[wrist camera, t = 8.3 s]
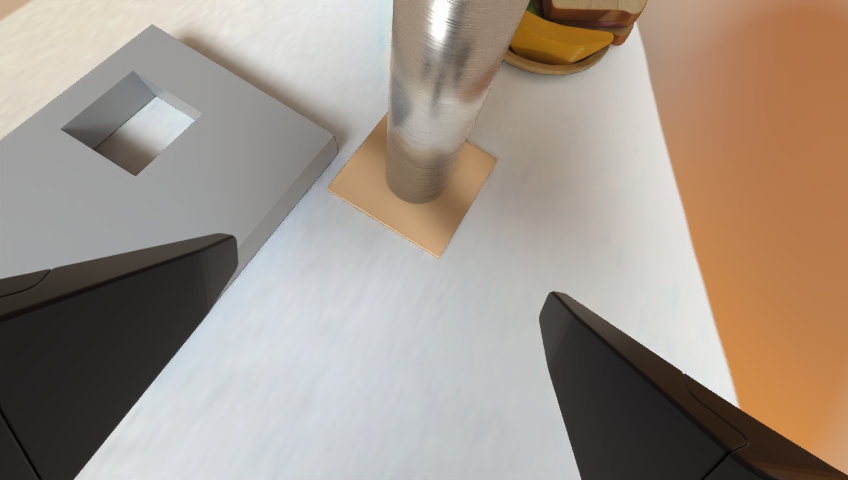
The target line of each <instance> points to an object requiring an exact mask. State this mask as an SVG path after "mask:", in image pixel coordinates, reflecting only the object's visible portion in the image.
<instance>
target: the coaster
mask: <svg viewBox="0 0 848 480" xmlns="http://www.w3.org/2000/svg"><path fill="white" fill-rule="evenodd" d="M387 126H388V112H387V114H386V115H385V116H384V117H383V119H382V120H381V121H380V122H379V124H378V125H377V126H376V127H375V129H374V130H373V131H372V132H371V134H370V135H369V136H368V137H367V139H366V140H365V141H364V142H363V144H362V145H361V146H360V147H359V149H358V150H357V151H356V152H355V154H354V155H353V156H352V157H351V159H350V160H349V161H348V162H347V164H346V165H345V166H344V167H343V169H342V170H341V171H340V172H339V174H338V175H337V176H336V177H335V179H334V180H333V181H332V182H331V184H330V185H329V186H328V187H327V189H328V191H329V192H331V193H333V194H334V195H336V196H338V197H339V198H341V199H342V200H344V201H346V202H347V203H349V204H351V205H352V206H354V207H355V208H357V209H359V210H360V211H362V212H364V213H365V214H367V215H368V216H370V217H372V218H373V219H375V220H377V221H378V222H380V223H381V224H383V225H385V226H386V227H388V228H390V229H391V230H393V231H394V232H396V233H398V234H399V235H401V236H403V237H404V238H406V239H407V240H409V241H411V242H412V243H414V244H416V245H417V246H419V247H420V248H422V249H424V250H425V251H427V252H429V253H430V254H432V255H433V256H435V257H437V258H438V259H439V257H440V256H441V254H442V252H443V251H444V249H445V247H446V246H447V244H448V242H449V241H450V239H451V237H452V236H453V234H454V232H455V231H456V229H457V227H458V226H459V224H460V222H461V221H462V219H463V217H464V216H465V214H466V212H467V211H468V209H469V207H470V206H471V204H472V202H473V201H474V199H475V197H476V196H477V194H478V192H479V191H480V189H481V187H482V186H483V184H484V182H485V181H486V179H487V177H488V176H489V174H490V172H491V170H492V169H493V167H494V165H495V164H496V162H497V159H495V158H493V157H492V156H490V155H488V154H487V153H485V152H483V151H482V150H480V149H478V148H477V147H475V146H473V145H472V144H470V143H468V142H467V141H466V143H465V145H464V147H463V149H462V152H461V154H460V156H459V158H458V160H457V163H456V165H455V167H454V169H453V172H452V174H451V176H450V178H449V180H448V183H447V185H446V187H445V189H444V191H443V192H442V194H441V195H440V196H439V197H438V198H436V199H435V200H433V201H431V202H428V203H423V204H413V203H409V202H406V201H403V200H401V199H400V198H398V197H397V196H396V195H395V194H394V193H393V192H392V191H391V190H390V188H389V187H388V184H387V182H386V177H385V168H386V147H387Z"/></svg>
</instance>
